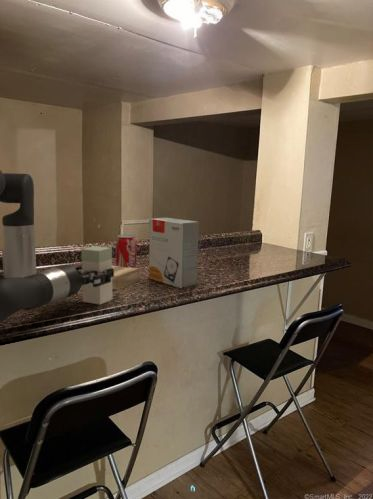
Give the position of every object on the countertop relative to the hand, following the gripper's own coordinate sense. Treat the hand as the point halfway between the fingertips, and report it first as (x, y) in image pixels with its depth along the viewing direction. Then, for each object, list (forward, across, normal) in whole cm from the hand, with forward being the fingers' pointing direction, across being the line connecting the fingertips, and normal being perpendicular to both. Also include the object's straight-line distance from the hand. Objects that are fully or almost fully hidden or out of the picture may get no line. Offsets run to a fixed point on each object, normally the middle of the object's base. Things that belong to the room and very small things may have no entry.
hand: (99, 270), depth 104 cm
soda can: (+30, +11, +8) cm, 33 cm away
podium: (+16, +7, +8) cm, 19 cm away
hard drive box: (+26, -9, +8) cm, 29 cm away
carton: (-1, 0, +8) cm, 8 cm away
